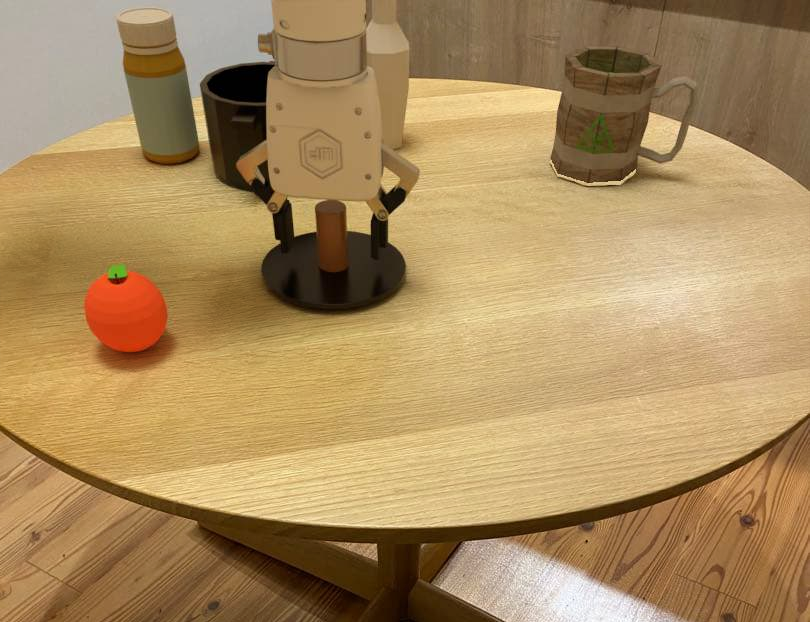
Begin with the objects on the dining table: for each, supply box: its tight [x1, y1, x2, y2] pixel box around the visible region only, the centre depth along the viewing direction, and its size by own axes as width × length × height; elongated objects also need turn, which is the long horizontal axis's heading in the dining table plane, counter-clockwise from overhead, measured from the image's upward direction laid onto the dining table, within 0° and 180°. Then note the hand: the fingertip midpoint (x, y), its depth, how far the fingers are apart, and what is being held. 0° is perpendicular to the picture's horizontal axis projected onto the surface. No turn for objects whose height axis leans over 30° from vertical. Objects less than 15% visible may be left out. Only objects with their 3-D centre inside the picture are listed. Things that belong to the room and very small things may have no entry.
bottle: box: [116, 6, 200, 165], centre depth 94 cm, size 7×7×15 cm
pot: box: [199, 60, 275, 192], centre depth 94 cm, size 14×19×10 cm
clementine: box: [83, 264, 169, 353], centre depth 70 cm, size 8×7×7 cm
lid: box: [260, 200, 407, 310], centre depth 78 cm, size 15×15×7 cm
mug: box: [549, 45, 699, 183], centre depth 94 cm, size 16×11×12 cm
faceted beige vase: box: [366, 0, 410, 150], centre depth 94 cm, size 6×6×22 cm
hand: (332, 249), depth 79 cm, fingers open, 8 cm apart
